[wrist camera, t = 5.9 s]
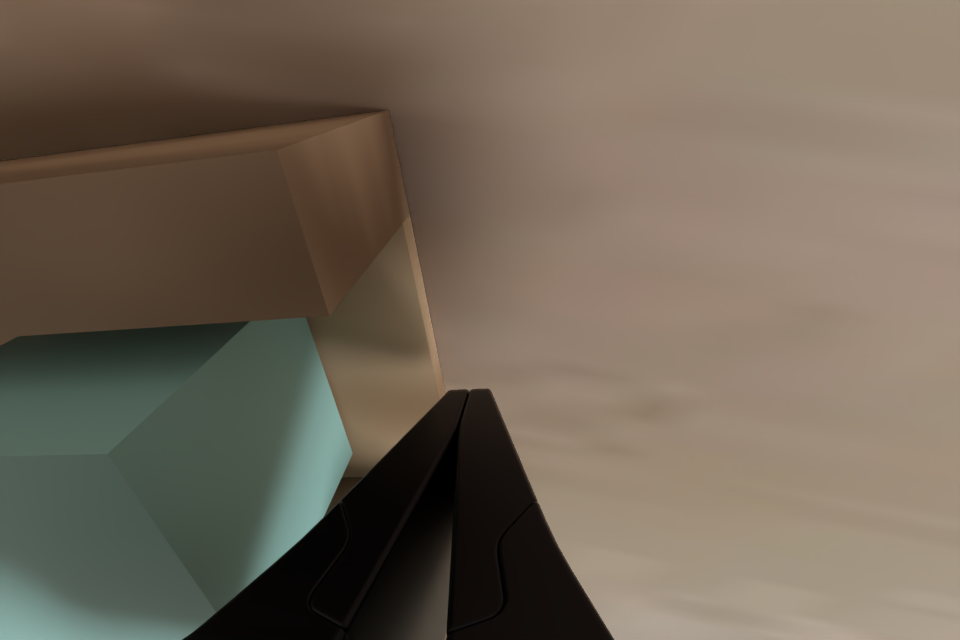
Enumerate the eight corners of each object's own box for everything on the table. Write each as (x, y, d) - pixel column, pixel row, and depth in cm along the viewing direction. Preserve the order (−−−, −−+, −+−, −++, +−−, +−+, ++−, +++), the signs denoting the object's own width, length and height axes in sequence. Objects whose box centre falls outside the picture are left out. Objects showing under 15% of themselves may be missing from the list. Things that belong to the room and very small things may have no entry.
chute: (468, 507, 14) (444, 676, 10) (-29, 508, 17) (-196, 642, 13) (389, 109, 9) (276, 150, 5) (-318, 203, 11) (-748, 276, 8)
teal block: (352, 453, 12) (254, 668, 8) (184, 456, 13) (9, 655, 9) (293, 281, 10) (107, 453, 6) (90, 297, 11) (-215, 460, 6)
